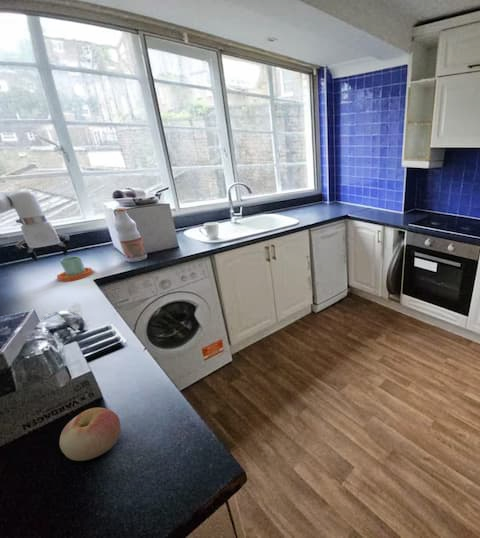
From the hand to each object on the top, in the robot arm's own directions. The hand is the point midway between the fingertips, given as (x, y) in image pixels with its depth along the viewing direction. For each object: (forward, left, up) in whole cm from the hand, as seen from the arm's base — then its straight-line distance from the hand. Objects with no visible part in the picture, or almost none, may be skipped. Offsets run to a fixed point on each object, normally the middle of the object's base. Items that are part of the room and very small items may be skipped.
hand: (51, 257), depth 134 cm
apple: (+5, -123, -11) cm, 124 cm away
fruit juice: (+31, +5, -11) cm, 33 cm away
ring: (+5, 0, -11) cm, 12 cm away
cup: (+6, 0, -11) cm, 13 cm away
